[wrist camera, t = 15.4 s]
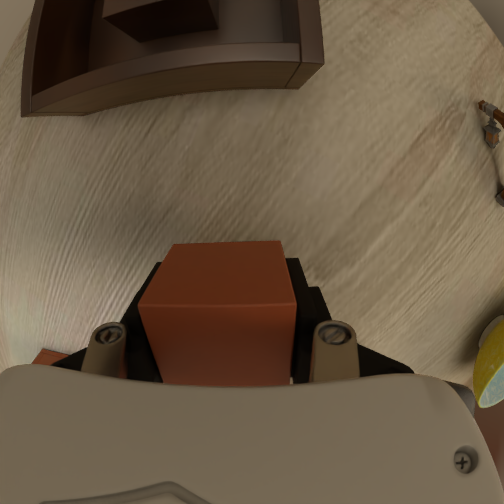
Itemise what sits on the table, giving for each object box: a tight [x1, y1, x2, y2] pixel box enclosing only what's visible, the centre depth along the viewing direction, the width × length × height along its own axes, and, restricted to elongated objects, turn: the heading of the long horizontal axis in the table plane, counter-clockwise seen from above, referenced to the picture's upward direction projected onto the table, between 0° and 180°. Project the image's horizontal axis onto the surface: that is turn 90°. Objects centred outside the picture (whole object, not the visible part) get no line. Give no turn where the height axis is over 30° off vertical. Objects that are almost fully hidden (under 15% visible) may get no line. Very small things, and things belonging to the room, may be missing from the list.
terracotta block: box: [138, 240, 297, 386], centre depth 10 cm, size 4×4×4 cm
